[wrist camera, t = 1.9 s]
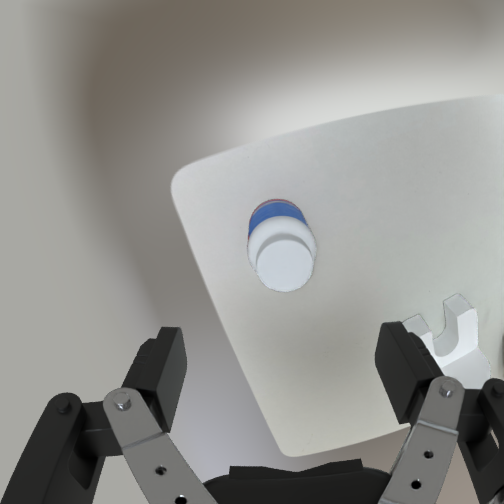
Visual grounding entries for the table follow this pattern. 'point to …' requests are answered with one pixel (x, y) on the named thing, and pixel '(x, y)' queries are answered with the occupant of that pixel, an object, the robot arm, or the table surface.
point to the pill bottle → (281, 245)
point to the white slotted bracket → (455, 343)
